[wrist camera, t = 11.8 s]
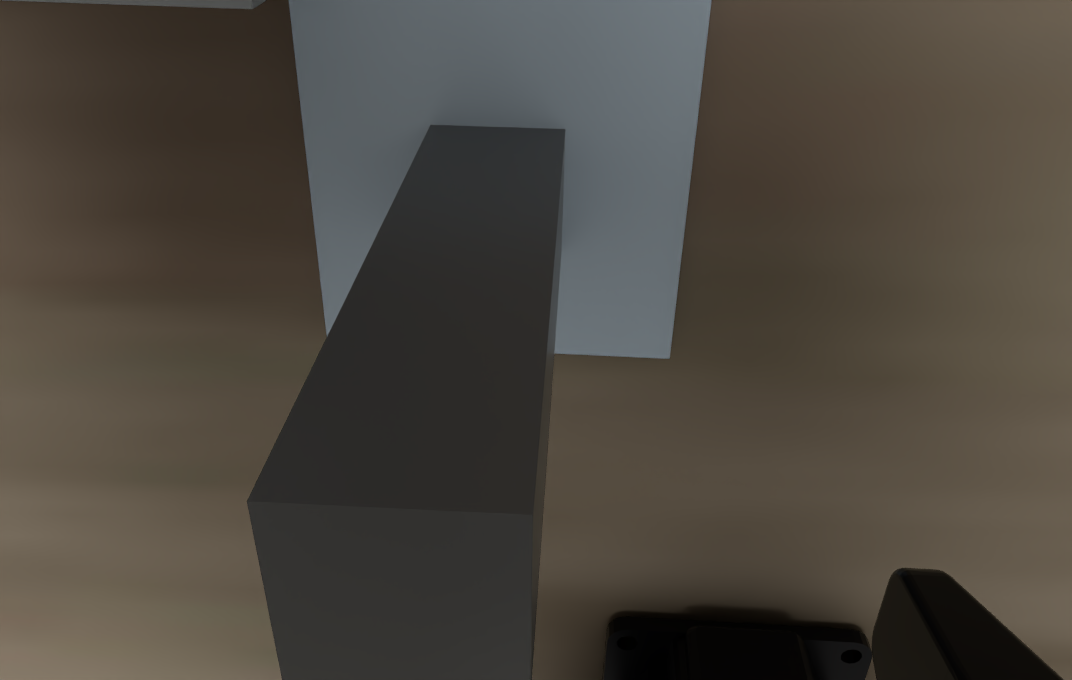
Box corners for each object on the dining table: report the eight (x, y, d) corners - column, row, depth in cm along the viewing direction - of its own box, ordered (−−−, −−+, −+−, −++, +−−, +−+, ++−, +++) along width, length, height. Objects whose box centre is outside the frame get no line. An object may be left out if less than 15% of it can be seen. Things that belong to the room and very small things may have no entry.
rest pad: (668, 348, 19) (669, 358, 18) (332, 332, 19) (326, 342, 19) (709, -10, 15) (711, -5, 15) (293, -24, 15) (286, -19, 15)
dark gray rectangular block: (561, 251, 17) (529, 703, 9) (436, 246, 17) (284, 688, 9) (565, 129, 16) (533, 515, 8) (430, 124, 16) (246, 502, 8)
